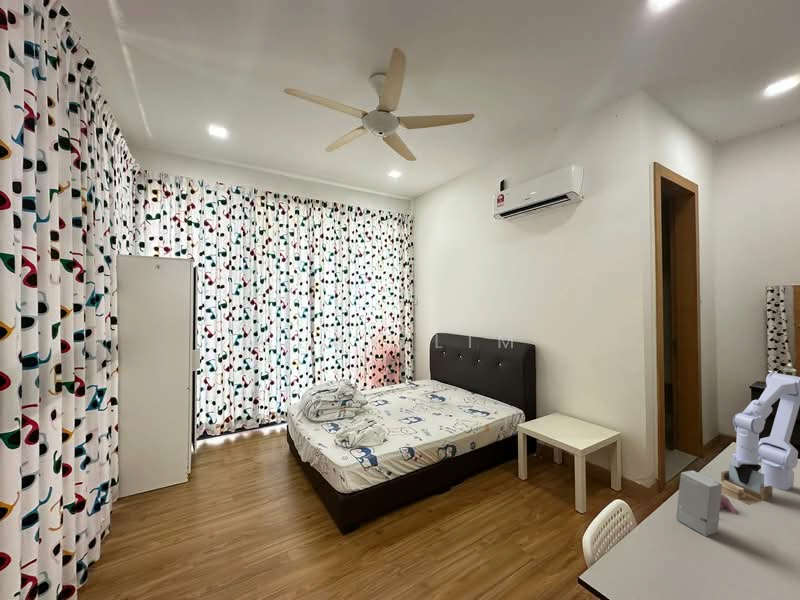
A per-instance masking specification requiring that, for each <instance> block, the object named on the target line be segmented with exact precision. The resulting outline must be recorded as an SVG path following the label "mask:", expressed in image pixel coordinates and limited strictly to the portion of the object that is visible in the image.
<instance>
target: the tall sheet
mask: <svg viewBox="0 0 800 600" xmlns="http://www.w3.org/2000/svg"><path fill="white" fill-rule="evenodd" d="M728 466H729V468H728V470H729V480H730V481H732V482H735V483H737V484H739V485H742V486H744V487H746V488H748V489H751V490H753V491H755V492H758V493H760V488H763V487H765V484H764V474H762V473H761V472H759V471H758V472H757V471H754V470H753V471H752V473H751V475H750V479H749V483H748V484H747V485H746V484H744V483H741V482H740V481H739V478H738V474H737V471H736V469H735V467H734V466H733V465H731V462H729V465H728Z"/></svg>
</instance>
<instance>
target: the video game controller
mask: <svg viewBox="0 0 800 600" xmlns="http://www.w3.org/2000/svg"><path fill="white" fill-rule="evenodd" d="M724 508H725V509H727V510H728V511H729V512H731V513H732V514H735V515H737V514H738V512H737V510H736V508H735V507H734V505H733V504H732V502H731V501H730V499H729V498H728V497H726V494H723V493H721V502H720V509H724Z"/></svg>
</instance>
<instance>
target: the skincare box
mask: <svg viewBox="0 0 800 600" xmlns="http://www.w3.org/2000/svg"><path fill="white" fill-rule="evenodd" d="M719 482H720V481H719ZM719 482H718V481H716V480H714V479H712V478H710V477H709V476H707V475H705V474H704V475H703V474H701V473H700V472H697V471H696V470H687V471H682V472H681V473H680V478H679V487H678V489H679V490H678V497H677V499H678V500H677V507H676V515H675V516H676V517H675V518H676V520H677V521H678V522H680V523H681V524H684V526H685V525H686V526H687V527H689V528H691V529H692V530H695V531H696V532H698V533H699V534H701V535H702V536H704V537H707V536H710V535H713V534H715V533H716V534H717V533H718V530H719V529H718V528H719V519H720V510H721V508H720V502H721V494H722V484H721V483H719Z"/></svg>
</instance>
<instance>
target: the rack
mask: <svg viewBox="0 0 800 600" xmlns="http://www.w3.org/2000/svg"><path fill="white" fill-rule="evenodd" d="M720 476H721V477H720V481H724V480H725V481H727V482H729V483H732V484H734V485H736V486H739V487H741V488H743V489H744V494H745V498H741V499H737V498H734V497H732V496H730V495H728V494H726V493H724V492H721V494H723V495H725V496H726V495H727V496H729V497H731V498H733V499H735V500H737V501H739V502H741V503H744V504H746V505H753V504H755V503H760V502H762V501H763V502H764V501H766V500H770V499H773V490H774V489H773V487H772V486H768V485H766V486H764V487H763V488H760V493H758V492H755V491H753V490H751V489H748V488H746V487H744V486H742V485H739V484H737V483H735V482H732V481H730V480H729V469H728V470H724V471H721V472H720Z"/></svg>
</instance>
